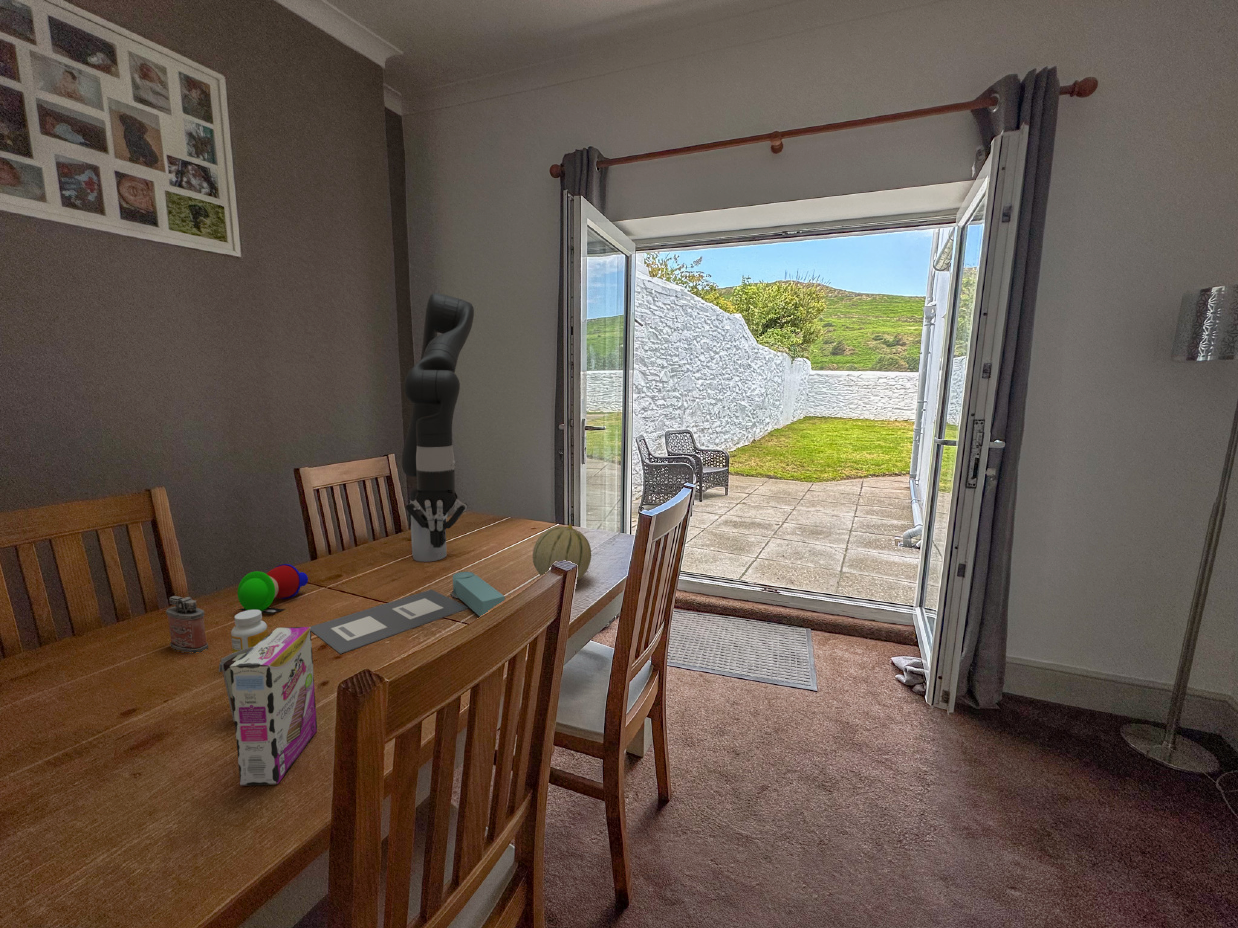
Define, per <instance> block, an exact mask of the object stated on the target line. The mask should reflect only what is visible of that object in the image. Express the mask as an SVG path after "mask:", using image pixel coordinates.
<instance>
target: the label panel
mask: <svg viewBox="0 0 1238 928" xmlns="http://www.w3.org/2000/svg"><path fill="white" fill-rule="evenodd" d="M468 609H470V607H469V606H467V605H466V604H462V603H461V602H458V601H457V600H455V599H454V598H453V599H452V598H450V597H448V596H446V595H444V594H442V593H440V592H438V591H435V590H434V589H427V590H425V591H421V592H419V593H415V594H411V595H408V596H405V597H402V598H399V599H396V600H393V601H390V602H387V603H382V604H379V605H376V606H373V607H370V608H367V609H363V610H360V611H357V612H353V613H351V614H347V615H344V616H340V617H337V618H333V619H330V620H328V621H325V622H322V623H321V622H320V623H317V624H315V625H311V626H310V627H311V633H313V634H314V635H315V636H317V638H319V639H320V640H321V641H323V642H324V643H326V645H328V647H331V648H332V649H334V651H336V652H337V653H338V654H340V655H342V653H343V654H346V653H347V652H348V653H349V652H351V651H353V650H356V649H359V648H362V647H365V646H367V645H370V644H373V643H375V642H376V643H377V642H379V641H382V640H384V639H385V640H386V639H388V638H389V637H394V636H395V635H398V634H401V633H404V632H406V631H410V630H412V629H414V628H415V629H416V628H417V627H421V626H423V625H426V624H429V623H432V622H434V621H437V620H439V619H443V618H446V617H449V616H452V615H454V614H457V613H461V612H463V611H466V610H468ZM345 652H346V653H345Z"/></svg>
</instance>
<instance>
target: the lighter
mask: <svg viewBox="0 0 1238 928" xmlns="http://www.w3.org/2000/svg"><path fill="white" fill-rule="evenodd" d="M169 604H170V605H173V606H172V607H168V608H167V609H166V610H165V613H166V615H167V619H168V626H169V635H170V642H169V643H170V645H169V646H171V647H172V648H174V649H176V650H180V651H183V652H182V653H184V652H191V653H190V654H192V652H193V653H196V652H201V651H203V650H205V649H207V648H208V649H209V643H208V642H207V636H206V627H205V620H204V619H205V618H204V616H205V615H206V614H205V610H203V609H201V608H199V607H197V600H194V599H193V598H192V597H190V596H186V597H182V596H177V595H173V596H170V597H169ZM171 647H170V648H171ZM172 648H171V649H172ZM174 649H173V650H174ZM208 649H207V650H208ZM176 650H175V651H176ZM201 653H202V652H201ZM196 654H197V653H196Z"/></svg>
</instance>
